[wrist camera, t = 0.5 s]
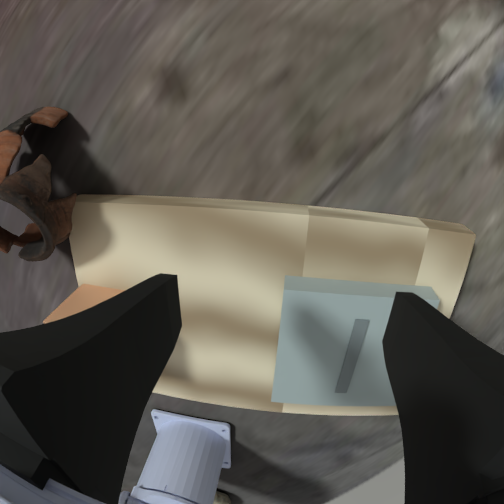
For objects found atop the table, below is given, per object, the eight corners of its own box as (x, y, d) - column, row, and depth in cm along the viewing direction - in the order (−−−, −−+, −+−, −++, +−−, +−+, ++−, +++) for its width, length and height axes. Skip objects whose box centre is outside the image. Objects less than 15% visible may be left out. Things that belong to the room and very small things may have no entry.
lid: (391, 390, 21) (395, 406, 19) (272, 385, 22) (270, 402, 20) (430, 286, 17) (440, 301, 16) (285, 275, 18) (283, 290, 17)
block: (138, 337, 22) (109, 384, 17) (94, 328, 22) (61, 368, 18) (129, 291, 20) (92, 334, 16) (83, 283, 21) (42, 321, 16)
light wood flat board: (400, 397, 24) (404, 414, 22) (114, 365, 27) (105, 380, 25) (462, 224, 18) (476, 234, 16) (80, 194, 20) (64, 202, 18)
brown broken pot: (106, 101, 18) (48, 185, 13) (107, 199, 25) (76, 283, 20) (-22, 95, 15) (-87, 165, 10) (-1, 180, 23) (-42, 251, 18)
